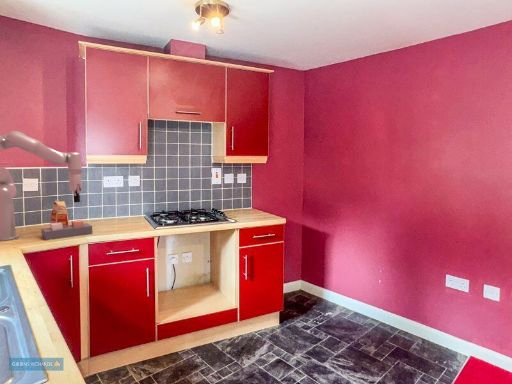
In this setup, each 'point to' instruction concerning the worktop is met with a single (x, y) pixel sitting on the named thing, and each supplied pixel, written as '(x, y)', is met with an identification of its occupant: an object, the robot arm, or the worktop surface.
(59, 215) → the milk carton
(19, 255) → the worktop surface
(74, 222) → the terracotta key
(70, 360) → the worktop surface
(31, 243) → the worktop surface
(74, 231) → the key block
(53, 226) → the ivory key
